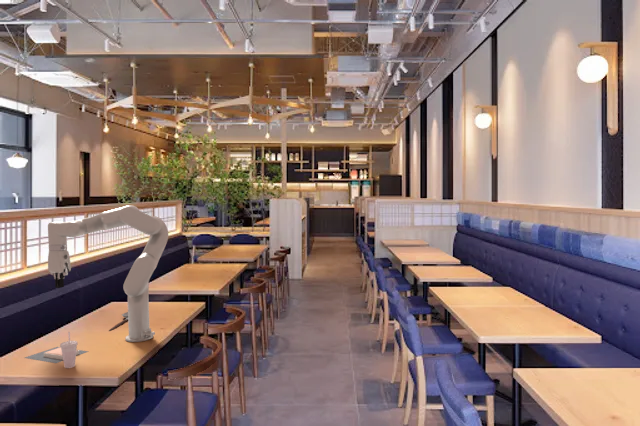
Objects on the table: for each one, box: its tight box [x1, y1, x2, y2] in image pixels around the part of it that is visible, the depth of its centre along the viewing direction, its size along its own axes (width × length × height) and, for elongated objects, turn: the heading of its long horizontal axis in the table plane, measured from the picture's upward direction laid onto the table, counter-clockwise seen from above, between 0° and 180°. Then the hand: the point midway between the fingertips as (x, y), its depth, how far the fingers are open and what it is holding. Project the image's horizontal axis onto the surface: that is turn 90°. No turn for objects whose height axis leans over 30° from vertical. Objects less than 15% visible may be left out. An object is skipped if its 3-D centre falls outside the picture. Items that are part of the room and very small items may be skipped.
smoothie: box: [59, 331, 79, 369], centre depth 196 cm, size 6×6×14 cm
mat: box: [24, 346, 89, 364], centre depth 211 cm, size 20×16×1 cm
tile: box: [44, 346, 80, 360], centre depth 209 cm, size 2×8×12 cm
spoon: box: [108, 311, 128, 332], centre depth 264 cm, size 11×33×3 cm, turn 177°
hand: (59, 287), depth 225 cm, fingers closed
